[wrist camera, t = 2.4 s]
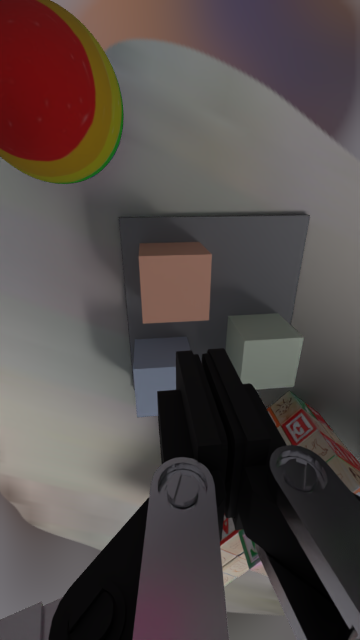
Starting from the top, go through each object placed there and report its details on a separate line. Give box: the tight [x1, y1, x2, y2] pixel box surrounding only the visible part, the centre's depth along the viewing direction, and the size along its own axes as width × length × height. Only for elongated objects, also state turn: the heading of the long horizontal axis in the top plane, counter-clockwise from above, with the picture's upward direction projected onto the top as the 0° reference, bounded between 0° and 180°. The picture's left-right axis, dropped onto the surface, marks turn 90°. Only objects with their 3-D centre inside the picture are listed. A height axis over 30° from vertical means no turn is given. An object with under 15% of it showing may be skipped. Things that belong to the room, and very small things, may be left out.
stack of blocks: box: [220, 391, 360, 587], centre depth 31 cm, size 21×6×12 cm, turn 139°
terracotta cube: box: [139, 242, 212, 324], centre depth 23 cm, size 5×5×5 cm
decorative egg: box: [0, 0, 123, 184], centre depth 16 cm, size 8×8×10 cm
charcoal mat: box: [119, 215, 310, 390], centre depth 27 cm, size 16×17×1 cm
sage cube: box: [226, 313, 304, 390], centre depth 26 cm, size 5×5×5 cm
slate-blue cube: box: [133, 337, 190, 417], centre depth 26 cm, size 5×5×5 cm
